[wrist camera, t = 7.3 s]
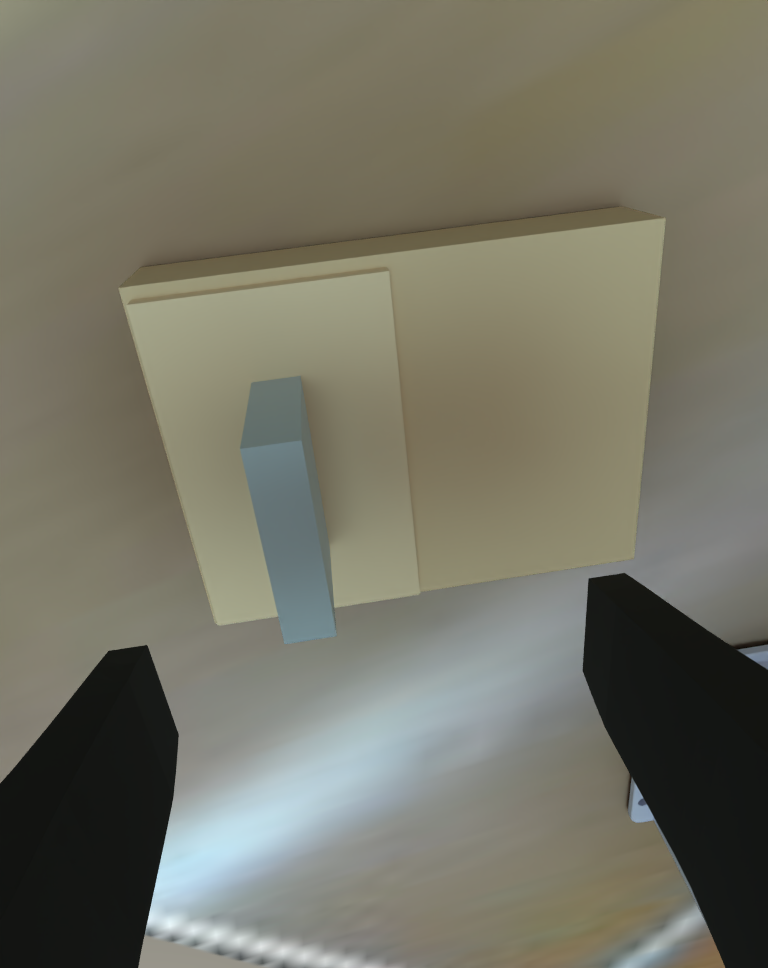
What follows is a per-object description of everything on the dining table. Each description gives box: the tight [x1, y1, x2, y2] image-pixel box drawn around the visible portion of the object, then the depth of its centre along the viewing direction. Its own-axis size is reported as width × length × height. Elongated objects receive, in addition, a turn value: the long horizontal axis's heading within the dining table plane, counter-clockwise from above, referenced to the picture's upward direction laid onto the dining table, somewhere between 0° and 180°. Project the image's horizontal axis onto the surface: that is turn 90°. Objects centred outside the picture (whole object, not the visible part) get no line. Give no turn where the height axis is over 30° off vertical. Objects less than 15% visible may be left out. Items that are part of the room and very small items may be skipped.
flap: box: [126, 267, 420, 644], centre depth 16 cm, size 9×6×4 cm, turn 6°
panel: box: [119, 206, 666, 624], centre depth 19 cm, size 10×13×2 cm
